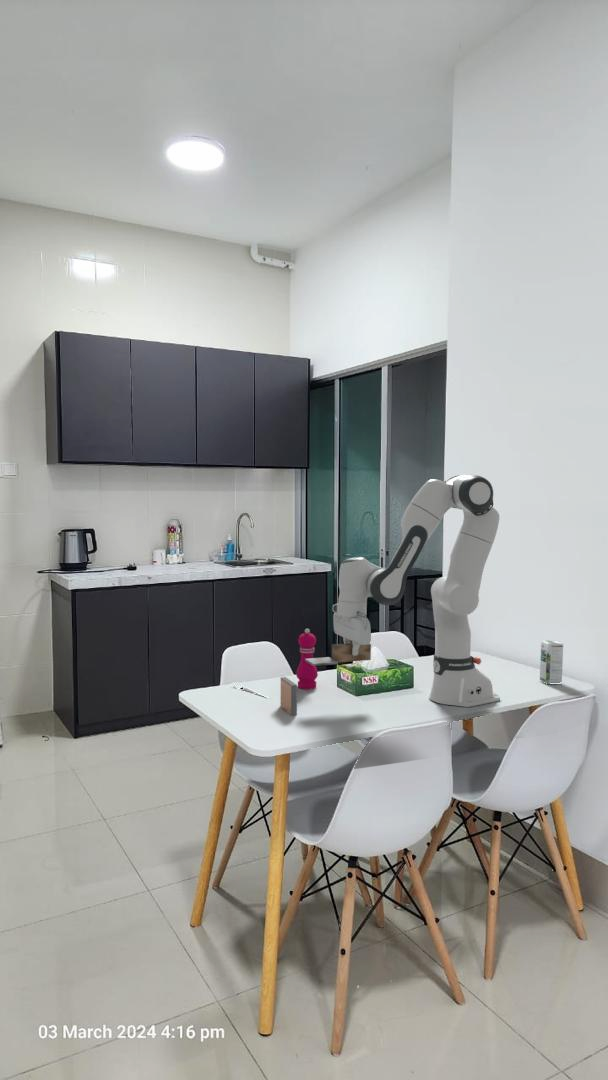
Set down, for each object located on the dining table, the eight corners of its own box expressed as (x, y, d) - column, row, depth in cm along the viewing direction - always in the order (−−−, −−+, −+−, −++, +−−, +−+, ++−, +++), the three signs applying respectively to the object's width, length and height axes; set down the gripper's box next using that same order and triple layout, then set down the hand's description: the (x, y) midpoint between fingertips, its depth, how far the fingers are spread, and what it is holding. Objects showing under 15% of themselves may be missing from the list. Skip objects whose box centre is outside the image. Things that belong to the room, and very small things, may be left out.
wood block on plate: (363, 656, 234) (364, 641, 233) (373, 661, 227) (373, 645, 227) (305, 660, 226) (305, 644, 226) (313, 665, 220) (313, 649, 220)
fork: (265, 702, 233) (265, 696, 233) (230, 687, 248) (230, 682, 248) (273, 700, 235) (274, 694, 235) (238, 686, 250) (238, 680, 250)
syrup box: (538, 681, 258) (540, 640, 257) (554, 680, 259) (555, 639, 258) (546, 685, 252) (547, 643, 251) (562, 684, 253) (563, 643, 252)
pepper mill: (317, 689, 245) (318, 630, 243) (296, 689, 245) (296, 630, 243) (317, 684, 252) (317, 626, 251) (296, 684, 252) (296, 626, 251)
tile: (285, 705, 226) (285, 677, 226) (296, 714, 217) (296, 684, 217) (280, 706, 226) (280, 677, 225) (291, 715, 217) (291, 685, 216)
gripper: (376, 614, 219) (375, 660, 219) (348, 604, 238) (347, 646, 239) (357, 615, 216) (356, 661, 217) (330, 605, 235) (329, 647, 236)
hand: (351, 653), depth 228 cm, fingers closed on wood block on plate, 3 cm apart
